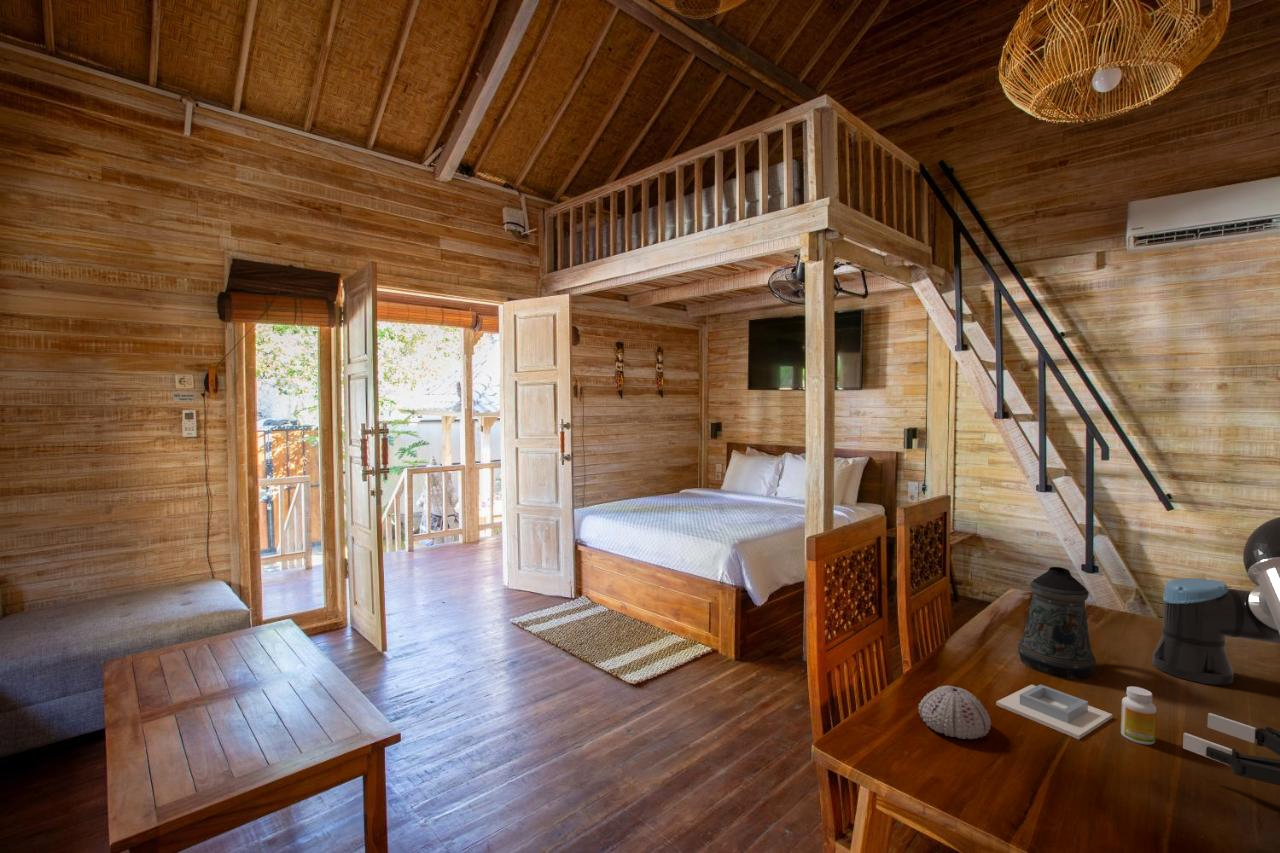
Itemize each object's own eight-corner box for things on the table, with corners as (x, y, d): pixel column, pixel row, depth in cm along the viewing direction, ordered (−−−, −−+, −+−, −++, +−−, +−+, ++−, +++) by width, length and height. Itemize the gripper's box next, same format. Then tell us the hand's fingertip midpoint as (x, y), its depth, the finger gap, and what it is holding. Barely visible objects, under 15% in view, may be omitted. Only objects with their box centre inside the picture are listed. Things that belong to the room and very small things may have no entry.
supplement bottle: (1161, 747, 117) (1163, 698, 117) (1130, 743, 118) (1132, 695, 118) (1144, 732, 123) (1146, 686, 122) (1114, 729, 124) (1116, 683, 123)
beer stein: (1036, 677, 148) (1039, 577, 147) (1001, 646, 167) (1004, 557, 166) (1110, 682, 145) (1114, 581, 144) (1066, 650, 164) (1070, 560, 163)
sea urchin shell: (997, 751, 116) (998, 710, 115) (920, 737, 120) (921, 698, 120) (984, 717, 128) (985, 681, 128) (914, 706, 133) (915, 670, 132)
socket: (1031, 687, 142) (1031, 675, 142) (1112, 717, 128) (1112, 704, 128) (996, 705, 133) (996, 691, 133) (1078, 739, 120) (1079, 724, 120)
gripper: (1356, 844, 88) (1171, 770, 106) (1385, 788, 102) (1216, 730, 120) (1359, 795, 88) (1173, 728, 106) (1387, 745, 101) (1218, 693, 119)
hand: (1196, 729), depth 113 cm, fingers open, 13 cm apart
